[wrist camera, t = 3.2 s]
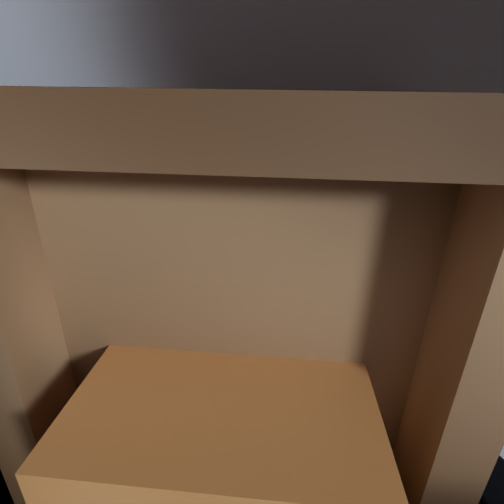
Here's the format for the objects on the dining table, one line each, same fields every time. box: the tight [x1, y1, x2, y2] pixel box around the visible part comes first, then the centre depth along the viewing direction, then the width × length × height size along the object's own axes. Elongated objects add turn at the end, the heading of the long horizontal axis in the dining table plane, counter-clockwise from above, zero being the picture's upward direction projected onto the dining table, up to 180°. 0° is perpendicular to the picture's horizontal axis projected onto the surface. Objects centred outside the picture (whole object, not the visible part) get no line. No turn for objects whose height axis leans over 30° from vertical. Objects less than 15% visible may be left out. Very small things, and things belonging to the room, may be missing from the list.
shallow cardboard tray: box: [0, 86, 504, 504], centre depth 7 cm, size 12×7×4 cm, turn 179°
